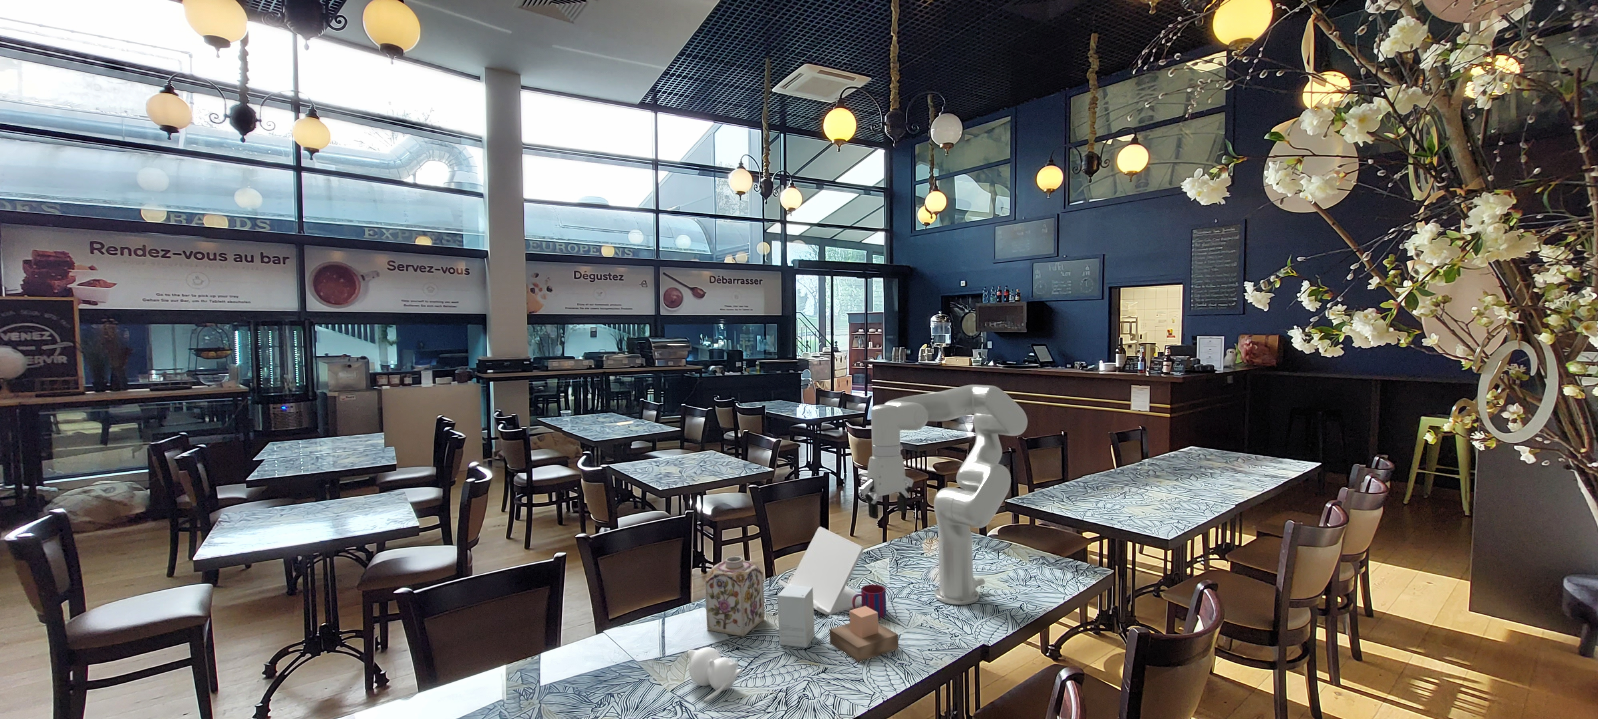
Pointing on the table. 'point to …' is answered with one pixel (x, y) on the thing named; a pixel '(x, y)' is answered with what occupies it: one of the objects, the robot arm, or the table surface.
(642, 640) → the table surface
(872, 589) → the mug
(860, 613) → the terracotta cube
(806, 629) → the supplement box
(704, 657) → the cat figurine
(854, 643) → the walnut block
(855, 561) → the tablet stand
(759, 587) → the decorative jar
